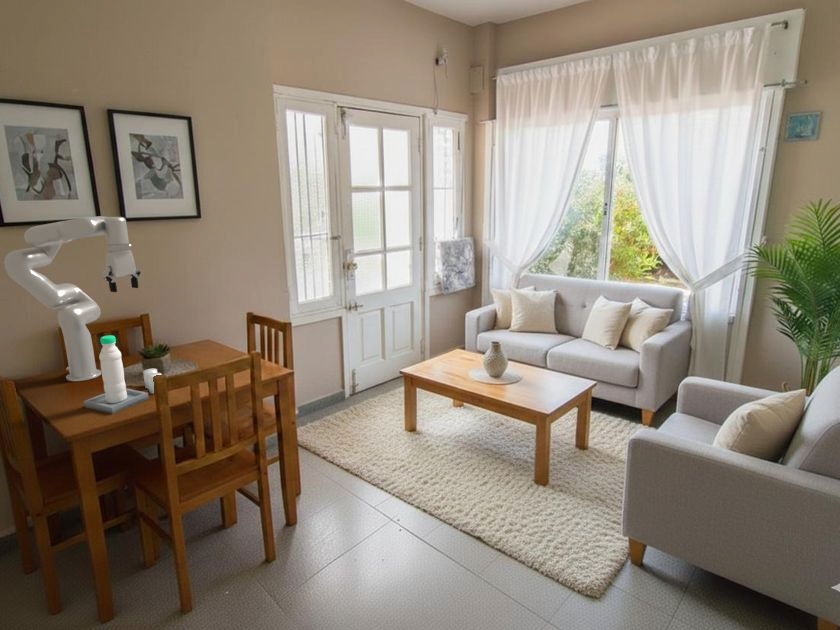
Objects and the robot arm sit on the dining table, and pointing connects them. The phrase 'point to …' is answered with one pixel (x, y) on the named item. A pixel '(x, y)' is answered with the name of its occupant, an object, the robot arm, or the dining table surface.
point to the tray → (112, 408)
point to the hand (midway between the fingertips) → (124, 289)
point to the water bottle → (112, 371)
